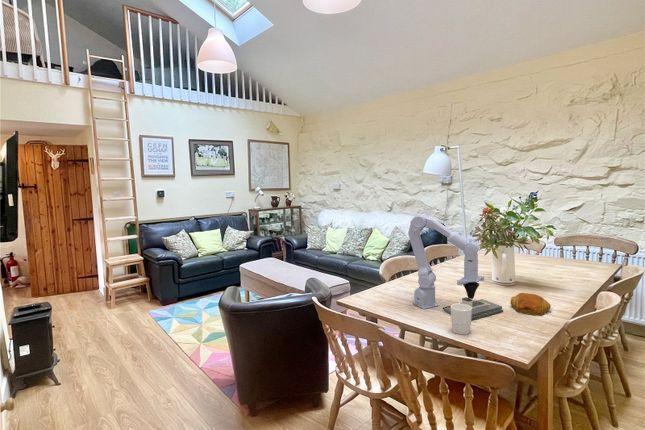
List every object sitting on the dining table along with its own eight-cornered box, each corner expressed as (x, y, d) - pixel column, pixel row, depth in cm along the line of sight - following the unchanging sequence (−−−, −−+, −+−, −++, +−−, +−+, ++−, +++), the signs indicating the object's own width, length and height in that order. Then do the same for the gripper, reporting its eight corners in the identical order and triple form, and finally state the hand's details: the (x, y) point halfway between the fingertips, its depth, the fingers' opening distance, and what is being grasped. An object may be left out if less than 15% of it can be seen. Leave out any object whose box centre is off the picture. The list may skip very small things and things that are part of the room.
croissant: (514, 306, 169) (512, 289, 169) (552, 308, 159) (550, 291, 159) (507, 315, 158) (504, 297, 158) (547, 318, 148) (544, 299, 148)
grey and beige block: (468, 310, 156) (468, 300, 156) (462, 307, 160) (461, 298, 159) (472, 309, 157) (472, 299, 157) (466, 306, 161) (466, 297, 160)
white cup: (466, 326, 144) (466, 302, 143) (475, 334, 136) (475, 310, 135) (447, 327, 144) (447, 303, 143) (455, 336, 136) (455, 311, 135)
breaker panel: (462, 320, 150) (462, 313, 150) (444, 311, 160) (443, 305, 160) (502, 309, 160) (502, 303, 160) (482, 302, 170) (482, 296, 170)
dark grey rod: (444, 309, 162) (444, 307, 162) (442, 309, 163) (442, 307, 163) (476, 301, 170) (476, 299, 170) (475, 301, 171) (475, 299, 171)
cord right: (469, 321, 149) (469, 319, 148) (467, 320, 149) (467, 318, 149) (503, 312, 157) (503, 309, 157) (501, 311, 158) (501, 309, 158)
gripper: (465, 273, 151) (465, 303, 152) (490, 268, 157) (489, 297, 158) (453, 269, 157) (453, 298, 159) (477, 265, 163) (476, 293, 165)
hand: (470, 298), depth 159 cm, fingers closed
